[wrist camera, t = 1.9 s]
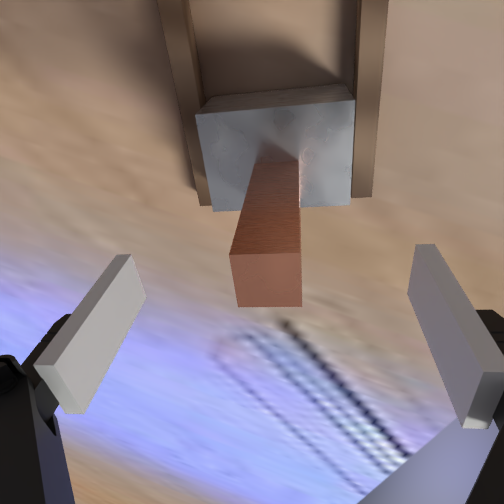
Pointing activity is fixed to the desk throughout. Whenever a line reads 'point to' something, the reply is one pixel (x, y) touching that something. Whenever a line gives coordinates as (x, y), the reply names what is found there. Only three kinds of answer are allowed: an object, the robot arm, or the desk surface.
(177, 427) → the desk surface
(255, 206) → the mallet
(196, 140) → the frame
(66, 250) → the desk surface
